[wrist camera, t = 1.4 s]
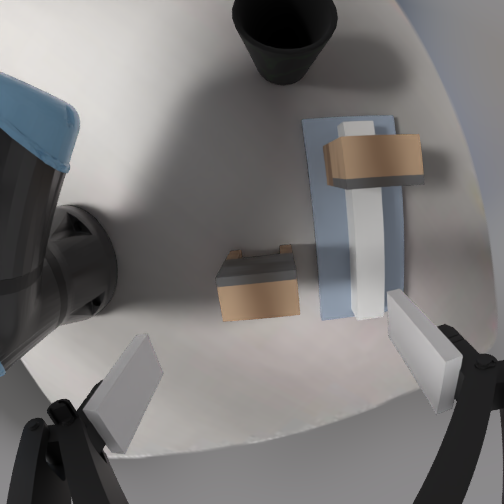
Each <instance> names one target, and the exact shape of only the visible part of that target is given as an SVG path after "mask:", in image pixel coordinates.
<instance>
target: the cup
mask: <svg viewBox="0 0 504 504" xmlns="http://www.w3.org/2000/svg"><path fill="white" fill-rule="evenodd" d="M232 19H233V22H234V24H235V27H236V29H237V31H238V33H239V35H240V37H241V38H242V40H243V42H244V44H245V46H246V48H247V50H248V52H249V54H250V55H251V57H252V59H253V61H254V63H255V65H256V67H257V69H258V71H259V73H260V74H261V76H263V77H264V78H265V79H266V80H268V81H269V82H271V83H274V84H278V85H288V84H292V83H295V82H297V81H298V80H300V79H301V78H302V77H303V76H304V75H305V74H306V72H307V71H308V69H309V68H310V66H311V65H312V63H313V62H314V60H315V59H316V58H317V56H318V55H319V53H320V52H321V50H322V49H323V48H324V46H325V45H326V43H327V42H328V40H329V39H330V38H331V36H332V34H333V33H334V31H335V29H336V26H337V20H338V16H337V10H336V7H335V5H334V3H333V1H332V0H235V1H234V5H233V8H232Z"/></svg>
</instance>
